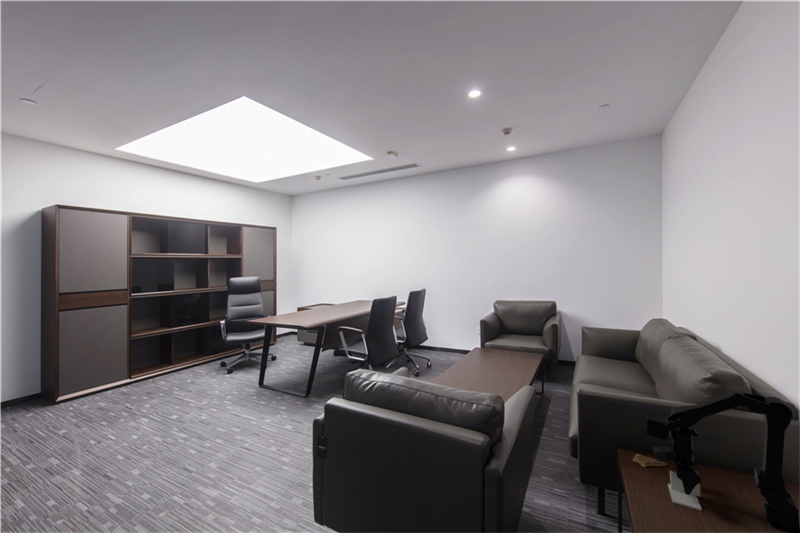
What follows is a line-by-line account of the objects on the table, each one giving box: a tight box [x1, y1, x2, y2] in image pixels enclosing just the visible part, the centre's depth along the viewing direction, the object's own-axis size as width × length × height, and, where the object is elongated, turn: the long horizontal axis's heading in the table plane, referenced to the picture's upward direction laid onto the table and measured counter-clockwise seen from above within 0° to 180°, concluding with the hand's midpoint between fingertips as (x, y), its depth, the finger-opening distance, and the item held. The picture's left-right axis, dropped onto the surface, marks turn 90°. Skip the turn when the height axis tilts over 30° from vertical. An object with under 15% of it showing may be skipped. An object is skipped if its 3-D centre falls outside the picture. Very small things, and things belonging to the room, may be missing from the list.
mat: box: [667, 483, 703, 512], centre depth 114 cm, size 8×11×1 cm
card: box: [669, 470, 701, 498], centre depth 116 cm, size 8×2×6 cm, turn 57°
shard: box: [632, 453, 669, 468], centre depth 134 cm, size 11×8×2 cm
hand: (684, 486), depth 116 cm, fingers open, 9 cm apart
